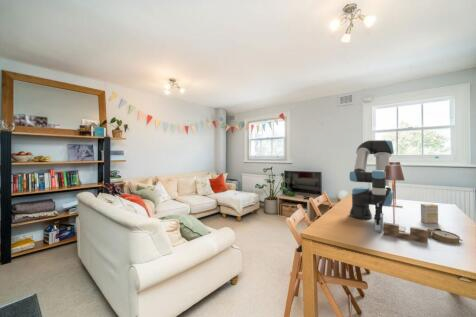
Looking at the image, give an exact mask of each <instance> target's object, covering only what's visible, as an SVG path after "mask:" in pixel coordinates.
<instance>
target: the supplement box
mask: <svg viewBox="0 0 476 317" xmlns="http://www.w3.org/2000/svg"><path fill="white" fill-rule="evenodd" d="M420 222H422V223H424V224H439V205H438V204H435V203H420Z"/></svg>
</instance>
